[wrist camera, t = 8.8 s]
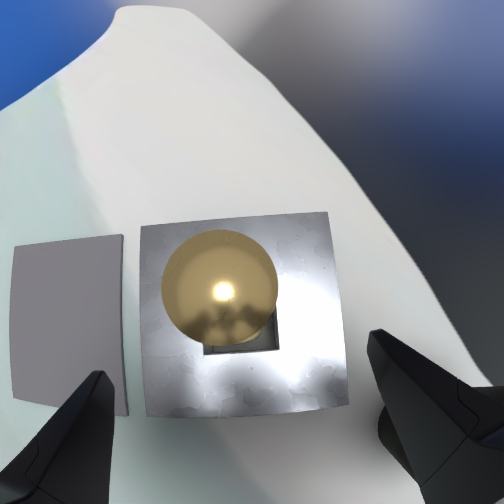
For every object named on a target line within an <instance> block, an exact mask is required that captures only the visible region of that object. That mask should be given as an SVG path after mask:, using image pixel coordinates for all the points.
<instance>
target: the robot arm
mask: <svg viewBox="0 0 504 504" xmlns="http://www.w3.org/2000/svg"><path fill="white" fill-rule="evenodd" d="M367 354H368V357H369V360H370V364H371V367H372V370H373V373H374V376H375V379H376V383H377V386H378V389H379V392H380V394H381V396H382V399H383V401H384V403H385V406H386V408H387V410H388V412H389V415H390V417H391V419H392V422H393V424H394V426H395V429H396V431H397V433H398V436H399V438H400V440H401V443H402V445H403V448H404V450H405V452H406V455H407V457H408V460H409V462H410V465H411V467H412V470H413V472H414V475H415V477H416V480H417V483H418V485H419V488H420V491H421V493H422V496H423V499H424V501H425V504H504V404H502V403H500V402H498V401H496V400H494V399H492V398H490V397H488V396H486V395H485V394H483V393H481V392H479V391H477V390H476V389H474V388H472V387H471V386H469V385H468V384H466V383H464V382H463V381H461V380H460V379H457V377H455V376H454V375H452V374H451V373H449V372H448V371H446V370H444V369H443V368H441V367H440V366H438V365H437V364H435V363H434V362H432V361H431V360H429V359H428V358H426V357H425V356H423V355H422V354H420V353H418V352H417V351H415V350H414V349H412V348H411V347H409V346H408V345H406V344H405V343H403V342H402V341H400V340H398V339H397V338H395V337H394V336H392V335H391V334H389V333H388V332H386V331H385V330H383V329H377V330H373V331H371V332H370V333H369V338H368V344H367ZM114 416H115V388H114V385H113V383H112V381H111V380H110V378H109V377H108V375H107V374H106V372H105V371H104V370H94V371H92V372H91V373H90V374H89V376H88V377H87V378H86V379H85V380H84V381H83V382H82V383H81V384H80V385H79V387H78V388H77V389H76V390H75V391H74V392H73V393H72V394H71V396H70V397H69V398H68V399H67V400H66V401H65V402H64V403H63V405H62V406H61V407H60V408H59V409H58V410H57V411H56V412H55V414H54V415H53V416H52V417H51V418H50V419H49V420H48V422H47V423H46V424H45V425H44V426H43V427H42V429H41V430H40V431H39V432H38V433H37V435H35V437H34V438H33V439H32V440H31V441H30V442H29V443H28V445H27V446H26V447H25V448H24V449H23V450H22V451H21V452H20V453H19V454H18V455H17V456H16V457H15V458H14V459H13V460H12V461H11V462H10V463H9V464H8V465H7V466H6V467H5V468H4V469H3V470H2V471H1V472H0V504H109V485H110V470H111V457H112V446H113V436H114Z"/></svg>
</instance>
